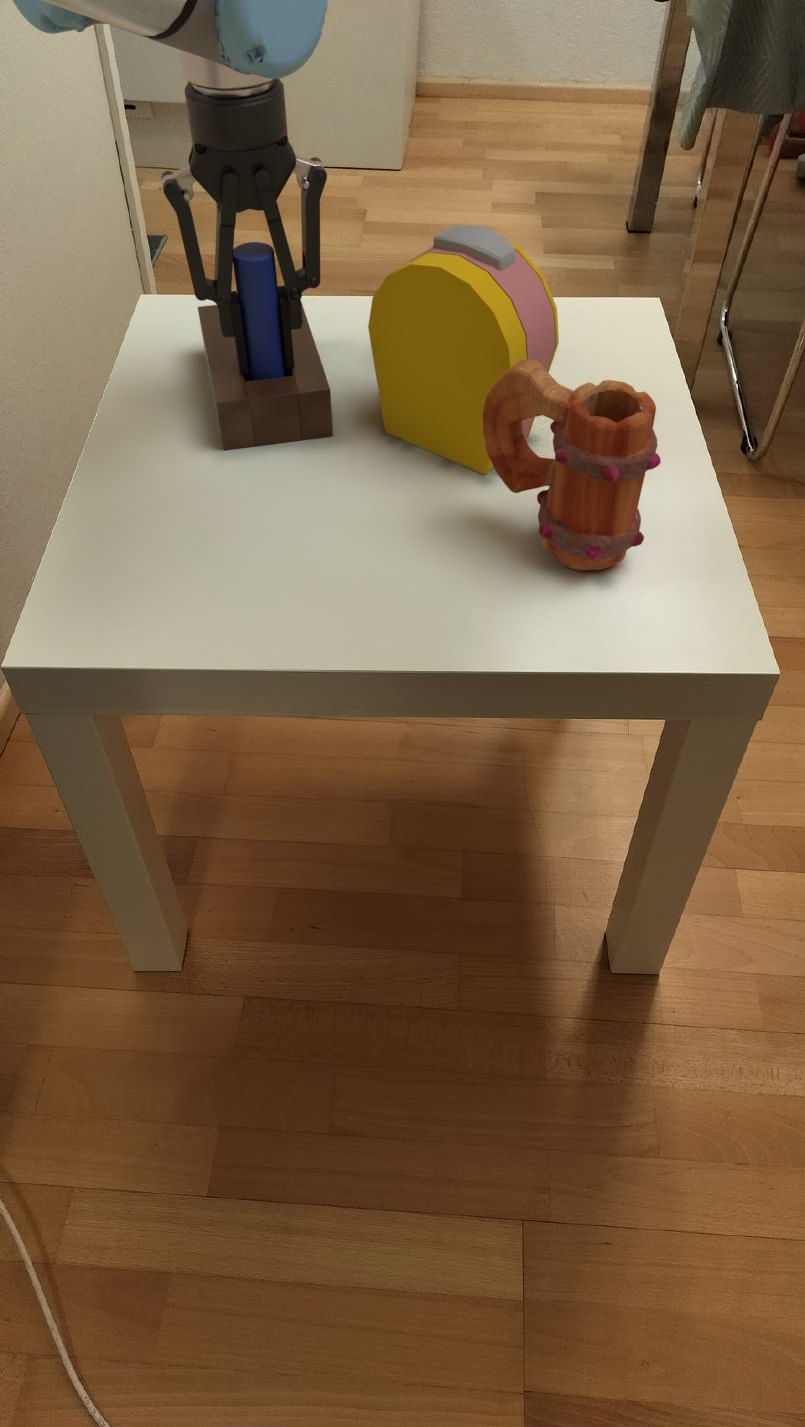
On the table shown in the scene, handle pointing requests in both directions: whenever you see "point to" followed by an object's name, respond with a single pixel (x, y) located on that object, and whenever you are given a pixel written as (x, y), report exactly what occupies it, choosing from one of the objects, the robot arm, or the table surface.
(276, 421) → the holder
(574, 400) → the mug
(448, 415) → the alarm clock
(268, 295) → the blue long cylinder
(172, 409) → the table surface
